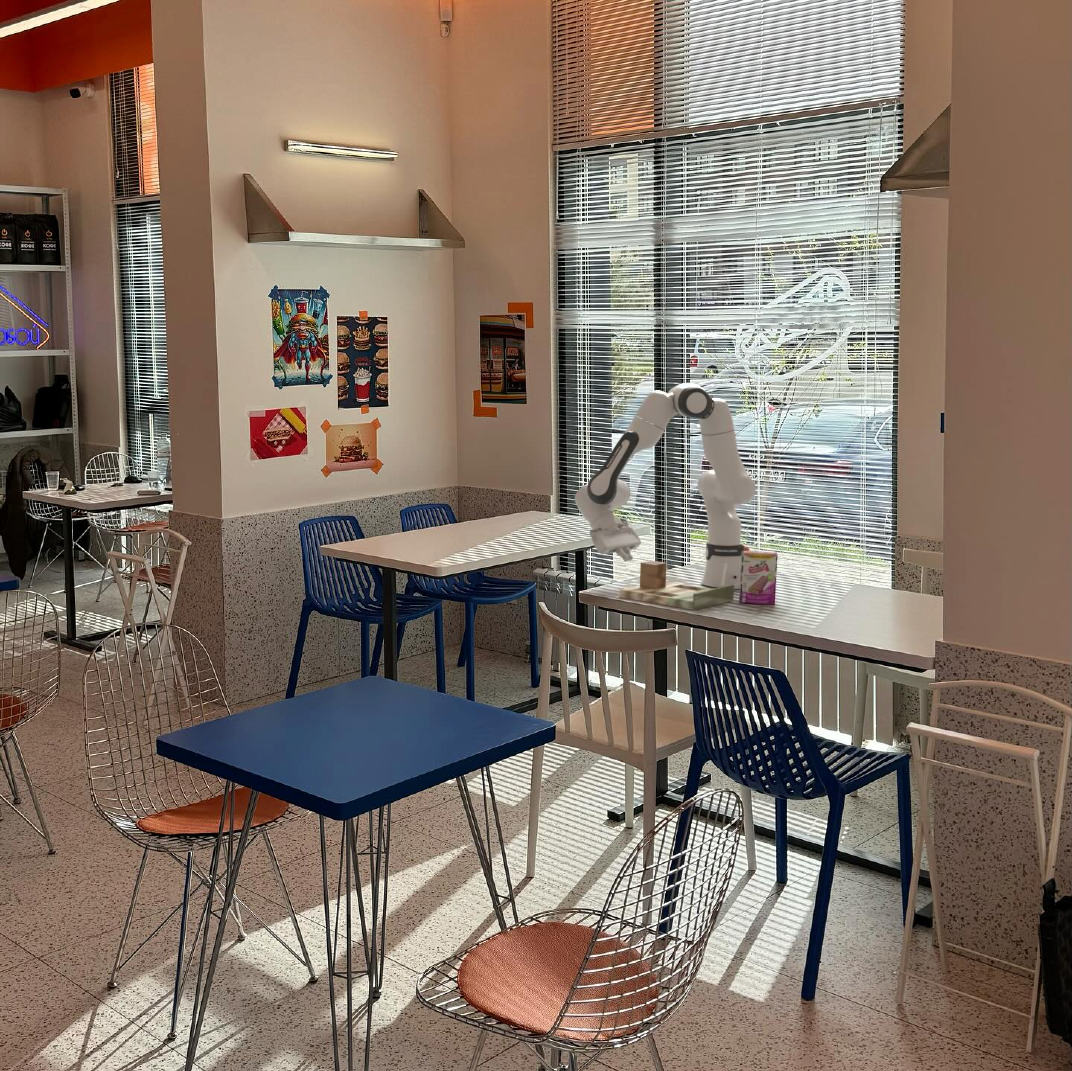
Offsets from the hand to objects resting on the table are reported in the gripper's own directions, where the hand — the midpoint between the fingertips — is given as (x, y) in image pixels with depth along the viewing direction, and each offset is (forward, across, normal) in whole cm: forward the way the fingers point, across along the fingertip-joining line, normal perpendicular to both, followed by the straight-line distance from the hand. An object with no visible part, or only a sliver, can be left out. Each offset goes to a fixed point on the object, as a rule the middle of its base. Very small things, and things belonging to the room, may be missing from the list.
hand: (629, 560), depth 411 cm
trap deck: (+21, 0, -6) cm, 22 cm away
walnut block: (+12, 0, -1) cm, 12 cm away
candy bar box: (+36, +13, -22) cm, 44 cm away
